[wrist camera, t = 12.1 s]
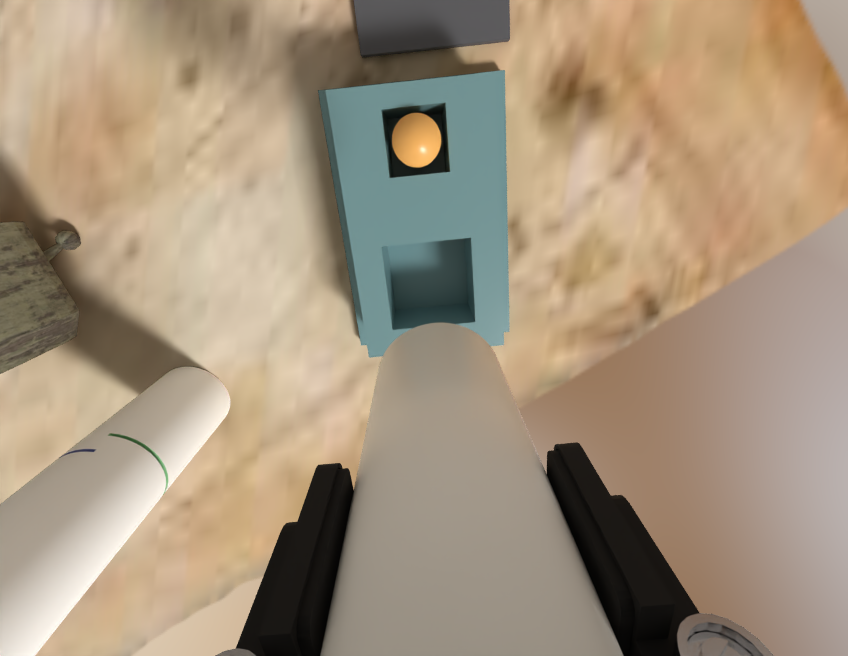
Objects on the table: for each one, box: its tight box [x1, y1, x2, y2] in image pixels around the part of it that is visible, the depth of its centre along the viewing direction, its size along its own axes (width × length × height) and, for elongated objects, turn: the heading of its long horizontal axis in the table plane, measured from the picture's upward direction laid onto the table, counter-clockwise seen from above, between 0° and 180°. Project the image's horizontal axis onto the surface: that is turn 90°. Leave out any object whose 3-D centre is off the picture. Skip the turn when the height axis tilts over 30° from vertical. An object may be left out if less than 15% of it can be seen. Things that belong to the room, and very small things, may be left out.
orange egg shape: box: [392, 113, 441, 168], centre depth 28 cm, size 3×3×4 cm
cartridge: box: [320, 323, 623, 656], centre depth 10 cm, size 5×5×12 cm
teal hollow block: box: [318, 70, 509, 357], centre depth 31 cm, size 21×14×6 cm, turn 6°
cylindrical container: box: [0, 367, 230, 656], centre depth 28 cm, size 7×7×25 cm
